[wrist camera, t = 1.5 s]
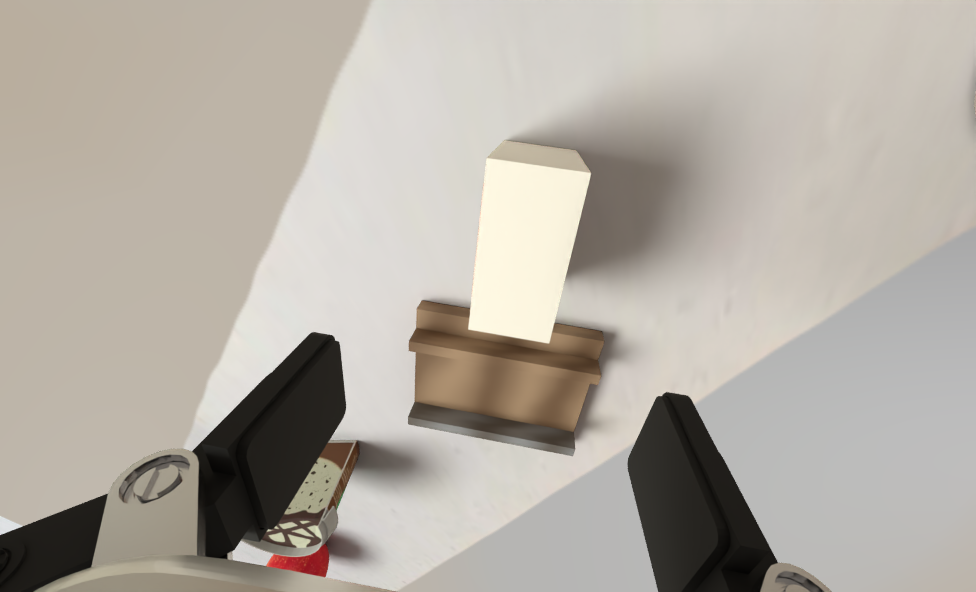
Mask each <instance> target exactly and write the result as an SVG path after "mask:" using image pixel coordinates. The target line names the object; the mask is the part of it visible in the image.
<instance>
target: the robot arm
mask: <svg viewBox="0 0 976 592" xmlns="http://www.w3.org/2000/svg"><path fill="white" fill-rule="evenodd" d="M974 108H975V116H976V93H975V101H974ZM345 411H346V401H345V391H344V381H343V371H342V361H341V351H340V344H339V342H338V341H335V338H334V337H333V336H332V335H327V334H321V333H316V332H313V333H311V334H309V335H308V336H307V337H306V338H305V339H304V340H303V341H302V342H301V343H300V344H299V345H298V346H297V347H296V348H295V349H294V351H293V352H292V353H291V354H290V355H289V356H288V357H287V358H286V359H285V360H284V361H283V362H282V363H281V364H280V365H279V366H278V367H277V368H276V369H275V370H274V371H273V372H272V373H270V374H269V375H268V376H266V377H265V378H264V379H263V380H262V381H261V382H260V383H259V384H258V385H257V386H256V387H255V388H254V389H253V390H252V391H251V392H250V393H249V394H248V395H247V396H246V397H245V398H244V399H243V400H242V401H241V402H240V403H239V404H238V405H237V407H236V408H235V409H234V410H233V411H232V412H231V413H230V414H229V415H228V416H227V417H226V418H225V419H224V420H223V421H222V422H221V423H220V424H219V425H218V426H217V427H216V428H215V429H214V430H213V431H212V432H211V433H210V434H209V435H208V436H207V437H206V438H205V439H204V440H203V441H202V442H201V443H200V444H199V445H198V446H197V447H196V448H195V449H194V450H193V451H189V450H185V449H169V450H164V451H160V452H157V453H154V454H152V455H149V456H147V457H145V458H143V459H141V460H140V461H138V462H136V463H134V464H133V465H131V466H130V467H129V468H128V469H126V470H125V471H124V472H123V473H122V474H121V475H120V476H119V477H118V478H117V479H116V481H115V482H114V483H113V484H112V486H111V489H110V491H109V493H108V494H106V495H103V496H100V497H98V498H95V499H93V500H90V501H88V502H85V503H82V504H80V505H77V506H75V507H72V508H69V509H67V510H64V511H62V512H59V513H57V514H54V515H51V516H49V517H46V518H44V519H41V520H38V521H36V522H33V523H31V524H28V525H25V526H23V527H20V528H18V529H15V530H12V531H10V532H7V533H5V534H2V535H0V592H396V591H391V590H386V589H381V588H376V587H371V586H366V585H361V584H356V583H351V582H346V581H341V580H336V579H331V578H325V577H320V576H315V575H310V574H305V573H300V572H295V571H290V570H284V569H279V568H273V567H267V566H262V565H256V564H250V563H245V562H239V561H233V555H232V551H233V550H235V548H236V547H237V545H238V544H239V542H240V541H241V539H245V540H250V541H255V542H260V541H261V540H262V538H263V537H264V535H265V533H266V532H267V530H268V529H269V530H272V529H274V528H275V527H276V526H277V524H278V523H279V521H280V520H281V518H282V516H283V515H284V513H285V511H286V510H287V508H288V507H289V505H290V503H291V502H292V500H293V498H294V497H295V495H296V494H297V492H298V490H299V489H300V487H301V485H302V484H303V482H304V481H305V479H306V477H307V476H308V474H309V472H310V471H311V469H312V468H313V466H314V464H315V463H316V461H317V459H318V458H319V456H320V455H321V453H322V451H323V450H324V448H325V446H326V445H327V443H328V442H329V440H330V438H331V437H332V435H333V434H334V432H335V430H336V429H337V427H338V425H339V424H340V422H341V421H342V419H343V417H344V414H345ZM628 472H629V476H630V480H631V484H632V488H633V492H634V496H635V500H636V504H637V508H638V512H639V516H640V520H641V524H642V528H643V532H644V536H645V540H646V544H647V548H648V552H649V556H650V560H651V564H652V568H653V572H654V576H655V580H656V584H657V588H658V592H831V590H830V589H829V588H827V587H826V586H825V585H824V584H823V583H822V582H821V581H819V580H818V579H817V578H816V577H814V576H813V575H811V574H810V573H808V572H806V571H805V570H803V569H801V568H799V567H796V566H794V565H791V564H787V563H778V562H777V560H776V558H775V556H774V554H773V553H772V551H771V549H770V547H769V545H768V543H767V541H766V539H765V537H764V535H763V534H762V531H761V530H760V528H759V526H758V524H757V522H756V520H755V518H754V516H753V515H752V512H751V511H750V509H749V507H748V505H747V503H746V501H745V499H744V497H743V496H742V493H741V492H740V490H739V488H738V486H737V484H736V482H735V480H734V478H733V476H732V475H731V472H730V471H729V469H728V467H727V465H726V463H725V461H724V459H723V457H722V456H721V454H720V453H719V452H718V450H717V448H716V446H715V444H714V443H713V440H712V439H711V437H710V435H709V433H708V431H707V429H706V427H705V425H704V423H703V421H702V419H701V417H700V416H699V414H698V412H697V410H696V408H695V406H694V404H693V402H692V400H691V399H690V397H688V396H686V395H681V394H675V393H669V392H666V393H664V394H663V396H658V397H657V398H656V399H655V402H654V404H653V406H652V408H651V410H650V412H649V414H648V417H647V419H646V421H645V423H644V425H643V427H642V430H641V432H640V434H639V436H638V438H637V440H636V442H635V445H634V447H633V449H632V451H631V453H630V455H629V458H628Z"/></svg>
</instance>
